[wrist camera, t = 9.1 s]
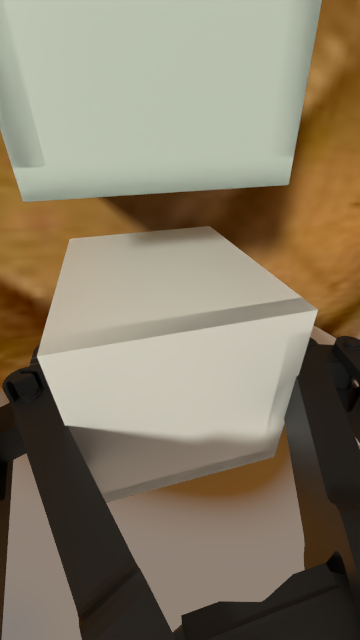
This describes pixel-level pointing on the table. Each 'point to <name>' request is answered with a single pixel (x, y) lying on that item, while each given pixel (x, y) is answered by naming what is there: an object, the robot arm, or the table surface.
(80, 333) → the white cover
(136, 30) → the sage cover
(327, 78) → the table surface
